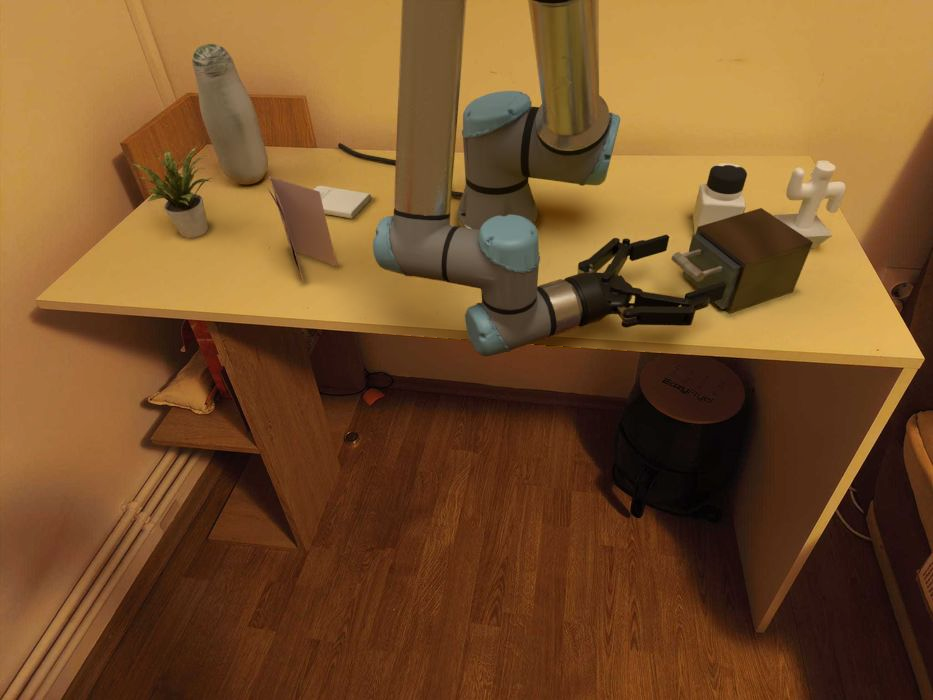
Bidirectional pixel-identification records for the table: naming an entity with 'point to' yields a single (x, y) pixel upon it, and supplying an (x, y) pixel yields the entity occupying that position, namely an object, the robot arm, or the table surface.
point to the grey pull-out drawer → (708, 267)
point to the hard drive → (342, 201)
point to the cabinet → (759, 255)
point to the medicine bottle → (720, 195)
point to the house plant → (180, 195)
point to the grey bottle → (229, 116)
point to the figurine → (813, 201)
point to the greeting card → (303, 221)
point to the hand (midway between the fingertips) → (693, 265)
